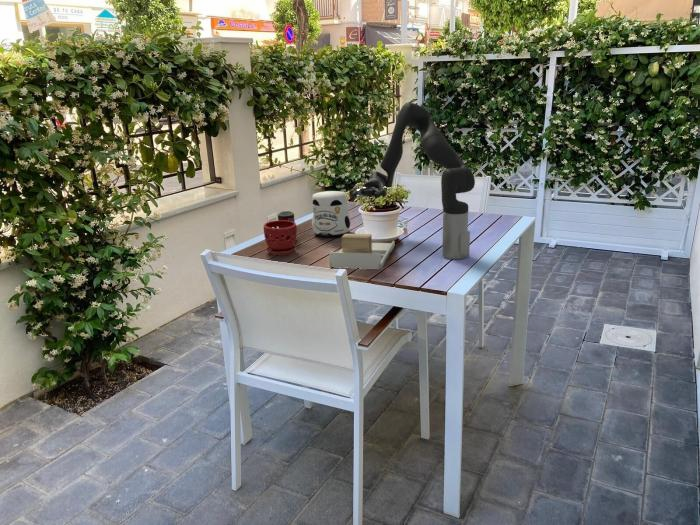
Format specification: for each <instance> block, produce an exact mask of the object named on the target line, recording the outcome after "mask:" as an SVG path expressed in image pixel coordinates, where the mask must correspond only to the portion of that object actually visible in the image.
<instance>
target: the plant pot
mask: <svg viewBox="0 0 700 525" xmlns="http://www.w3.org/2000/svg"><path fill="white" fill-rule="evenodd" d="M281 226H285V228H281ZM297 227H298V226H297V223H296V222H292V221H286V220H278V219H277V220H271V221H268V222H265V223H264V224H263V235H264V240H265V243H266V245H267V247H266V251H267V253H268V254H271V255H273V256H284V255H285V254H286V255H289V254H292V253H293V252H294V251H295V250H296V246H295V243H296V241H297V240H296V239H297Z"/></svg>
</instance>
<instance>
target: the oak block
mask: <svg viewBox="0 0 700 525" xmlns="http://www.w3.org/2000/svg"><path fill="white" fill-rule="evenodd" d="M372 243H373V242H372V234H371V233H346V234H343V235H341V249H342V252H347V253H372Z"/></svg>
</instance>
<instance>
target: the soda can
mask: <svg viewBox="0 0 700 525" xmlns="http://www.w3.org/2000/svg"><path fill="white" fill-rule="evenodd" d="M278 220H286V221H292V222H295V213H294V212H293V211H290V210H289V211H280V212H278V214H277V221H278ZM295 223H296V222H295ZM281 228H285V226H281Z"/></svg>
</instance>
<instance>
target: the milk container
mask: <svg viewBox="0 0 700 525" xmlns="http://www.w3.org/2000/svg"><path fill="white" fill-rule="evenodd" d="M345 193H346V192H345V191H339V190H326V191H319V192H316V193H314V194H312V195H311V196H312V197H311V202H312V213H313V214H312V220H311V227H312V231H313V234H315V235H318V236H320V237H330V238H331V237H339V236H343V235H344V234H348V233H349V232H350V230H351V226H352V222H351V218H350V214H349V203H348V200H349V199H348V198H347V199H346V196H345Z"/></svg>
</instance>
